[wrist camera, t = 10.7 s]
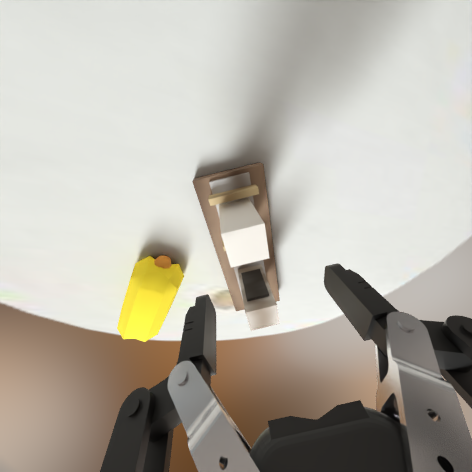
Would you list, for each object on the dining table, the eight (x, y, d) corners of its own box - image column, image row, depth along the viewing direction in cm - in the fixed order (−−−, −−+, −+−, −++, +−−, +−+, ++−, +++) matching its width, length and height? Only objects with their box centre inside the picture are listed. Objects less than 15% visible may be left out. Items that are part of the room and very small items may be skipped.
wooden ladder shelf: (259, 162, 22) (291, 175, 13) (276, 292, 35) (298, 345, 26) (194, 178, 22) (180, 203, 13) (235, 302, 35) (242, 359, 26)
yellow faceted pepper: (123, 314, 33) (162, 321, 36) (104, 350, 27) (152, 355, 30) (143, 243, 26) (190, 257, 29) (123, 271, 20) (184, 286, 23)
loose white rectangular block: (248, 197, 22) (264, 223, 15) (253, 227, 24) (269, 261, 17) (218, 205, 22) (220, 234, 15) (226, 234, 24) (231, 271, 17)
